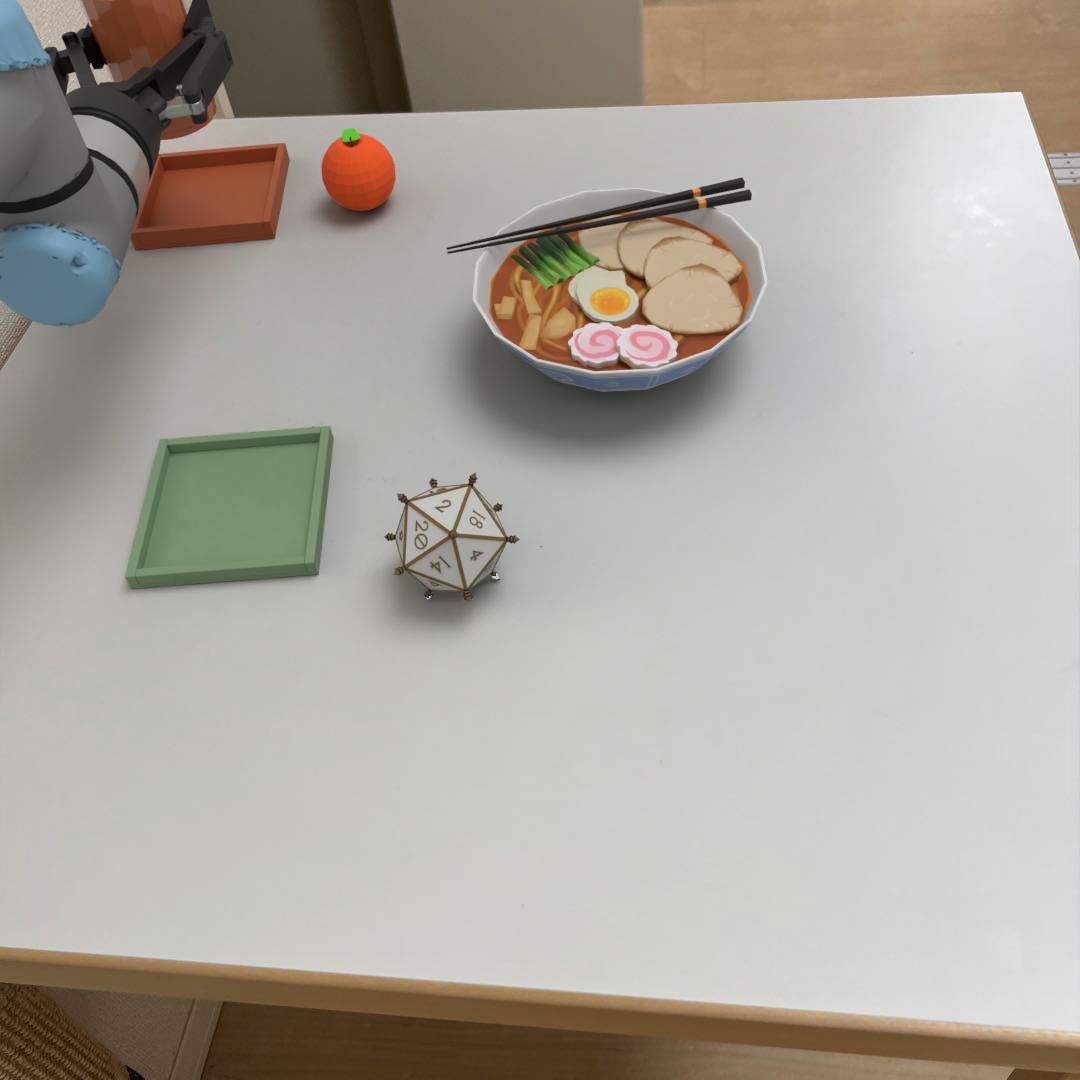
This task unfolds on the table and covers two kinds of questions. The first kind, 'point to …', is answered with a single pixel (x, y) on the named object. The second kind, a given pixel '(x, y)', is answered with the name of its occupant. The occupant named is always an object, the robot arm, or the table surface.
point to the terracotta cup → (140, 42)
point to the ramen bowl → (621, 284)
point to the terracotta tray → (212, 197)
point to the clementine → (358, 171)
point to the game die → (449, 537)
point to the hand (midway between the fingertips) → (156, 12)
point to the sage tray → (233, 508)
